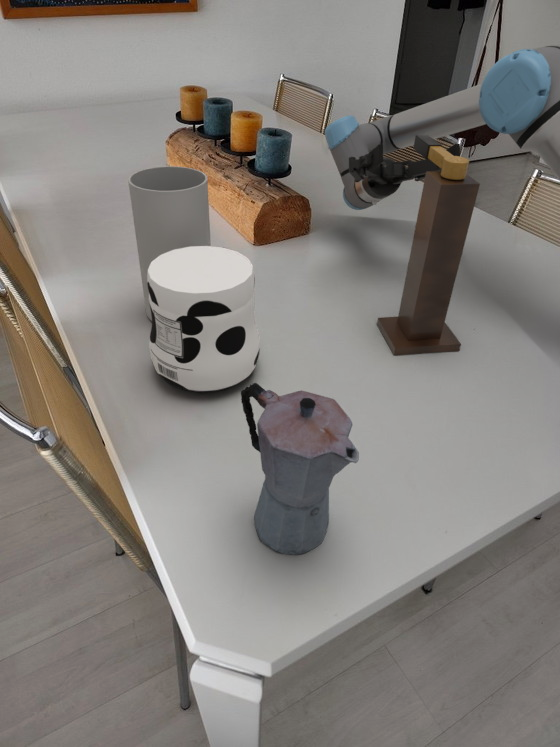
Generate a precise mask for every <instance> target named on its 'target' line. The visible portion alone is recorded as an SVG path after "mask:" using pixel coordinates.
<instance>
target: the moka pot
mask: <svg viewBox="0 0 560 747" xmlns="http://www.w3.org/2000/svg"><path fill="white" fill-rule="evenodd" d="M240 397H241V404H242V411H243V413H244V415H245V421H246V423H247V426H248V432H249V434H250V440H251V446H252V447H253V448H254V449H255V450H256V451H258V452H259V454H260V463H261V470H262V473H263V474H264V475H265V476H264V480H263V482H262V487H261V491H260V494H259V497H258V501H257V505H256V508H255V511H254V515H253V522H254V527H255V530H256V534H257V536H258V538H259V539H260V541H262V543H263V544H265V546H268V547H269V548H271V550H273V551H275V552H277V553H281V554H284V555H295V556H296V555H302V554H306V553H308V552H310V551H313V550H314V549H316V548H317V547H318V546H319V545H321V544H322V543H323V542H324V539H325V537H326V534H327V531H328V528H329V524H330V487H331V484H332V482H333V479H334V477H335V476H336V475H337V474H339V473H340V472H342V470H343V469H344V468H346V467H347V466H348V465H349V464H350V463H354V464H356V463H358V462H359V460H360V452H359V450H358V449H357V447H356V446H355V445H354V443H353V442H352V441H351V439H350V438H349V436H350V433H351V431H352V428H353V421H352V419H351V417H349V415H348V414H347V413H346V412H345V410H344V409H343V408H342V407H341V406H340V404H339V402H337V401H336V399H334V398H333V397H332V398H330V397H328V396H324V395H321V394H317V393H313V392H311V391H310V392H309V391H305V390H297V391H294V392H289V393H286V394H283V395H278V394H277V393H276V392H274V391H273V390H271V389H268V390H266V389H265V388H263V387H262V386H261V385H259V383H256V382H253V383H252V384H249V386H245V388H244V389H242V390H240ZM251 398H253V399H254V400H255V401H256V402H257V404H258V405H259V406H260V407H261V408H263V409H264V410H263V411H262V413H261V415H260V417H259V418H258V421H257V423H256V421H255V418H254V416H255V413H254V411H253V405H252V402H251Z"/></svg>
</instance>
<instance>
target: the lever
mask: <svg viewBox="0 0 560 747" xmlns="http://www.w3.org/2000/svg"><path fill="white" fill-rule="evenodd" d="M413 150H414V151H415V152H417V153H418V154H419V155H420V156H422V157H423V158H424V159H430V160H431V161H432V162H433V163H435V164H436V165H437V166H438V167H440V168H441V169H442V170H441V176H442V177H444V178H447V179H452V180H461V179H464V178H465V176H466V174H467V173H468V172H467V171H468V168H469V163H470V159H468V158H466V157H463V156H460V157H459V156H453V155H452V154H451V153H449V152H448V151H446V149H445V148H444V147H443V145H442V144H441V143H440V142H438V141H437V140H436V139H433V138H431V137H430V136H429V135H416V136H415V142H414V145H413Z"/></svg>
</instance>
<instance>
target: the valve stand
mask: <svg viewBox="0 0 560 747" xmlns="http://www.w3.org/2000/svg"><path fill="white" fill-rule="evenodd" d="M423 180H424V181H423V187H422V190H421V197H420V201H419V207H418V212H417V218H416V222H415V227H414V232H413V237H412V243H411V248H410V254H409V258H408V262H407V269H406V274H405V278H404V283H403V290H402V294H401V300H400V305H399V310H398V315H397V316H384V317H383V316H382V317H377V321H376V326H377V328H378V329H379V332H380V333H381V335H382V337H383V338H384V340H385V342H386V344H387V346H388V347H389V350H390V351H391V353H392V355H393V356H405V355H418V354H419V355H420V354H421V355H422V354H434V353H449V352H459V351H460V349H461V346H462V343H461V342H460V341H459V339H458V338H457V336H456V335H455V334H454V332H453V330H452V329H451V328H450V327H449V326H448V324H447V323H446V319H447V314H448V310H449V307H450V302H451V300H452V299H451V298H452V295H453V291H454V287H455V284H456V279H457V276H458V271H459V268H460V263H461V258H462V256H463V252H464V247H465V244H466V240H467V236H468V232H469V228H470V225H471V220H472V216H473V213H474V210H475V205H476V201H477V198H478V194H479V189H480V185H481V183H479V181H477V180H476V179H474V178H473V177H471V176H470V175H469V174H468V173H466V176H465V178H464V179H461V180H452V179H447V178H444V177H442V176H441V171H428V172H426V175H425V178H424V179H423Z"/></svg>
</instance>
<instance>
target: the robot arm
mask: <svg viewBox="0 0 560 747" xmlns="http://www.w3.org/2000/svg"><path fill="white" fill-rule="evenodd" d="M485 125H487V126H488V127H489V128H490V129H491V130H492V131H494V132H497V133H500V134H502V135H503V134H504V135H509V137H511V139H512V140H513V142H514V143H515V144H516V146H518V147H519V149H520V150H521V151H522V152H533V153H536V154H538V156H539V157H540V158H541V160H543V162H544V163H545V164H546V166H547V168H549V169H550V171H551V172H552V173H553V174H554V176H555V177H556V178H557V179H558V180H559V181H560V45H546V46H542V47H536V48H521V49H519V50H515V51H513V52H512V53H509V54H507V55H505V56H503V57H502V58H500V59H498V60H497V61H496V62H495V63H494V64H493V65H492V66H491V67H490V69H489V70H488V71H487V73H486V74H485V76H484V79H483V80H482V83H479V84H477V85H474V86H471V87H469V88H465V89H463V90H460V91H457V92H453V93H451V94H449V95H446V96H442V97H440V98H437V99H435V100H431V101H429V102H426V103H423V104H421V105H417V106H415V107H412V108H409V109H407V110H403V111H400V112H398V113H395V114H393V115H389V116H387V117H383V118H380V119H378V120H373V121H370V122H367V123H362V124H360V123H359V122H358V121H357V119H356V117H355V116H354V115H351V114H348V115H346V116H343V117H341V118H338V119H336V120H335V121H333V122H332V123H330V124H329V125H327V126H326V127H325V129H324V137H325V141H326V143H327V145H328V146H327V147H328V150H329V151H330V154H331V156H332V158H333V161H334V164H335V166H336V168H337V170H338V173H339V176H340V179H341V181H342V184H343V189H342V199H343V201H344V203H345V205H346V206H347V207H349V208H350V209H352V210H355V211H362V210H366V209H368V208H371V207H373V206H374V205H375V206H376V205H377V204H378V203H379V202H381V201H382V200H384V199H386V198H388V197H389V196H392V195H393V194H395V193H396V192H397V191H398V189H399V188H400V186H401V184H402V183H403V182H408V181H412V180H414V182H419V181H420V182H421V181H422V180H425V175H426V172H428V171H441V170H442V169H441V168H440V167H438V166H437V165H436V164H435V163H433V162H432V161H431V160H430V159H425V158H424V159H420V160H416V161H413V160H411V159H408V160H404V161H395V160H394V159H392V158H389V157H385V156H384V155H386V154H390V153H394V152H395V151H399V150H402V149H404V148H408V147H412V146H414V142H415V136H416V135H429V136H430V137H431V138H433V139H434V140H436V139H440V138H443V137H447V136H450V135H454V134H458V133H460V132H464V131H467V130H472V129H474V128H477V127H478V128H479V127H481V126H485ZM445 150H446V151H448V152H449V153H451V154H452V155H453V156H459V157H461V143H454V144H453V145H452V146H450V147H447V149H445Z"/></svg>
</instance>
